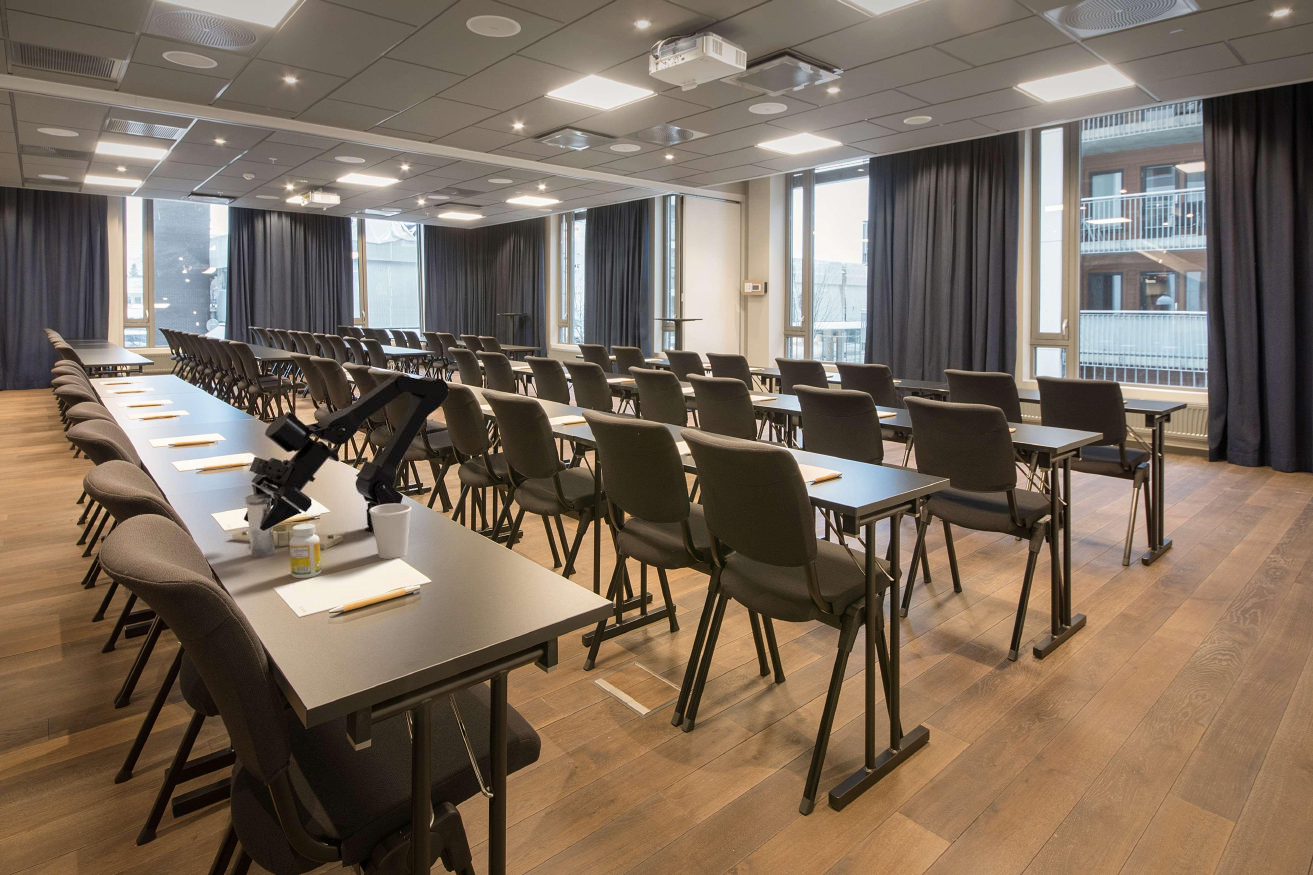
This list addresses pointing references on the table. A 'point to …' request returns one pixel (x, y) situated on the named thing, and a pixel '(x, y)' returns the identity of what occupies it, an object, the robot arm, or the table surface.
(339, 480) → the table surface
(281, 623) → the table surface
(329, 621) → the table surface
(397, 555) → the dixie cup
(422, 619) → the table surface
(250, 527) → the grey cylinder
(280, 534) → the hinge
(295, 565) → the supplement bottle
